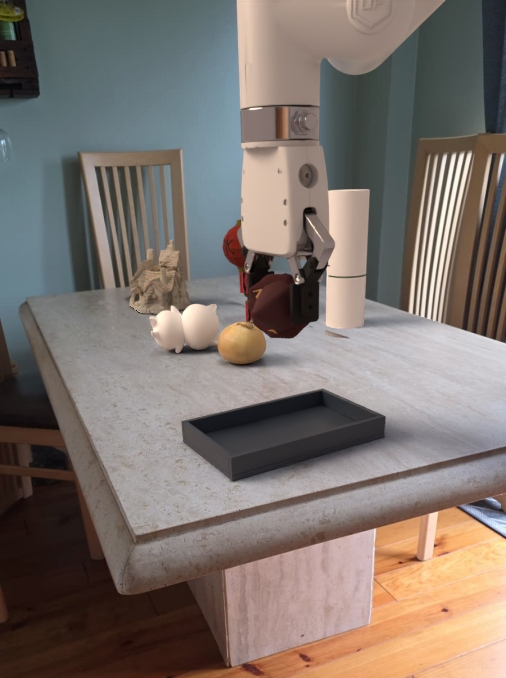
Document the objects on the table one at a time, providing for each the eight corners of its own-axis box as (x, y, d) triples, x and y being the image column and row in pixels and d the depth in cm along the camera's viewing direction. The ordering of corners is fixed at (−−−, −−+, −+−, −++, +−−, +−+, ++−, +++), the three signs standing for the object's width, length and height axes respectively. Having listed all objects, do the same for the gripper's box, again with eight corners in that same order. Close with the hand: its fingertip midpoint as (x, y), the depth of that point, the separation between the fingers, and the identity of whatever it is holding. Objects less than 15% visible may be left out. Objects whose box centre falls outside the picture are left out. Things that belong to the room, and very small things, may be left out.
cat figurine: (146, 298, 105) (217, 292, 106) (152, 320, 115) (216, 314, 116) (152, 348, 104) (223, 341, 105) (157, 366, 114) (222, 359, 115)
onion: (211, 367, 100) (209, 323, 97) (226, 353, 107) (224, 312, 104) (259, 369, 98) (258, 324, 95) (271, 355, 105) (271, 313, 102)
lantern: (241, 330, 122) (234, 162, 110) (217, 322, 130) (208, 163, 117) (280, 323, 127) (278, 161, 114) (255, 315, 134) (251, 162, 122)
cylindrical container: (355, 327, 122) (360, 189, 111) (369, 335, 115) (376, 189, 105) (320, 330, 120) (322, 190, 110) (332, 339, 114) (336, 191, 104)
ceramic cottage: (147, 297, 156) (140, 235, 149) (203, 304, 149) (199, 239, 142) (108, 314, 144) (98, 247, 137) (167, 322, 137) (161, 252, 130)
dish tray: (384, 437, 72) (386, 416, 71) (232, 481, 63) (231, 458, 62) (322, 406, 82) (322, 388, 81) (182, 441, 73) (180, 421, 72)
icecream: (298, 290, 57) (341, 278, 70) (227, 267, 59) (282, 260, 72) (279, 361, 60) (324, 337, 73) (212, 336, 62) (267, 317, 75)
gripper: (370, 125, 54) (361, 325, 61) (266, 136, 68) (269, 299, 75) (298, 125, 51) (298, 336, 58) (204, 137, 65) (214, 307, 72)
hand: (282, 314), depth 67 cm, fingers closed on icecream, 7 cm apart
